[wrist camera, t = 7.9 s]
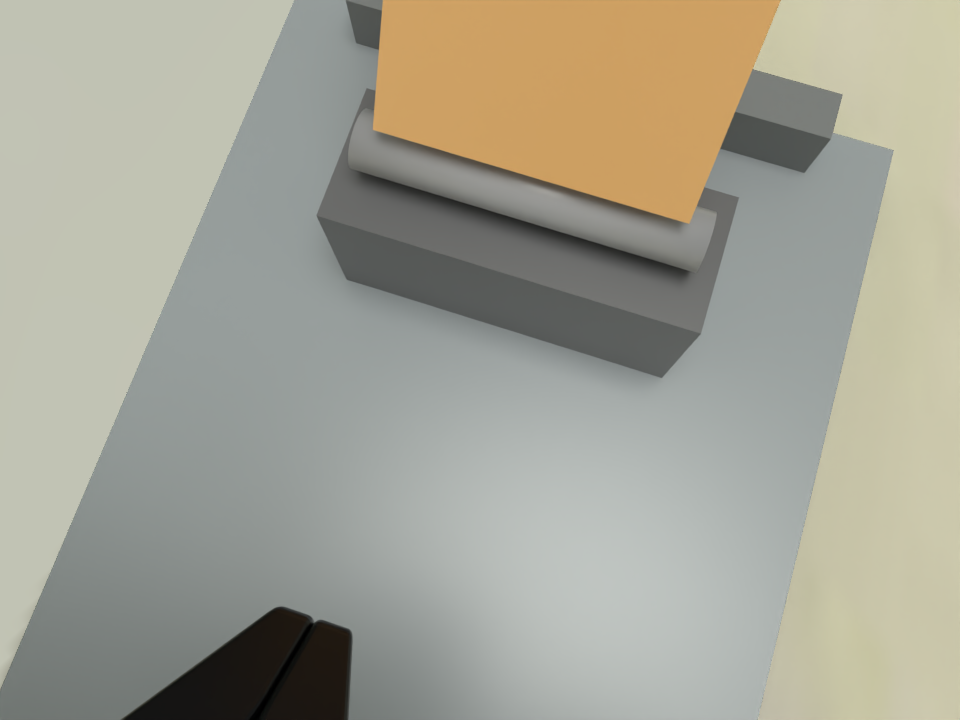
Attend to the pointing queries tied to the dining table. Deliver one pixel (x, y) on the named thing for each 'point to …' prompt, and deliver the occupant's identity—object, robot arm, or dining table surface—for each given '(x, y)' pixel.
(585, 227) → the lever
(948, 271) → the dining table surface
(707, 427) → the switch board
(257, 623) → the robot arm
